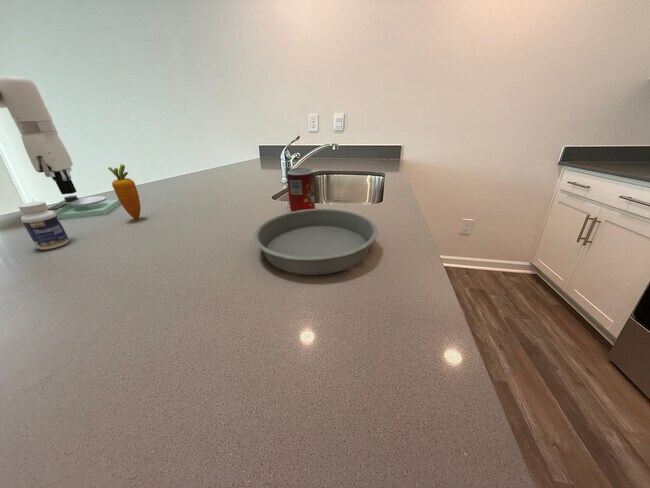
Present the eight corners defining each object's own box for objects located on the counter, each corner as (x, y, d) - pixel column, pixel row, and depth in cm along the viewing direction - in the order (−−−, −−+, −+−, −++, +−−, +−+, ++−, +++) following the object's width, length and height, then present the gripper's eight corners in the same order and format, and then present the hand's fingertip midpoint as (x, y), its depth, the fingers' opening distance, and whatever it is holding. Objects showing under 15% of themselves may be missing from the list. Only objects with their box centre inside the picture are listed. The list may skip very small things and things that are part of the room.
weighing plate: (65, 207, 74) (64, 205, 74) (80, 199, 81) (79, 198, 81) (99, 204, 76) (98, 202, 76) (111, 196, 84) (110, 195, 83)
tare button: (64, 203, 80) (61, 198, 79) (69, 200, 82) (67, 196, 81) (75, 202, 80) (73, 197, 80) (80, 199, 83) (78, 195, 82)
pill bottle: (42, 252, 55) (16, 209, 51) (34, 247, 58) (9, 205, 54) (73, 242, 59) (52, 202, 55) (65, 238, 62) (44, 198, 58)
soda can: (313, 217, 70) (310, 171, 64) (287, 217, 71) (283, 172, 65) (316, 209, 76) (314, 166, 71) (293, 209, 77) (289, 167, 71)
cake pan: (264, 228, 64) (261, 211, 62) (361, 222, 66) (362, 205, 64) (246, 286, 42) (241, 262, 40) (393, 275, 44) (395, 252, 42)
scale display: (47, 210, 72) (46, 209, 72) (57, 205, 76) (57, 204, 76) (57, 209, 73) (57, 208, 73) (67, 204, 77) (67, 203, 77)
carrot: (122, 221, 71) (99, 166, 64) (139, 215, 75) (120, 162, 68) (134, 223, 69) (112, 166, 63) (151, 217, 73) (132, 163, 67)
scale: (46, 220, 74) (40, 210, 72) (70, 207, 84) (66, 198, 83) (105, 214, 77) (101, 204, 76) (121, 202, 88) (117, 194, 87)
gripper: (39, 128, 77) (68, 188, 86) (-1, 130, 65) (38, 201, 73) (69, 127, 79) (95, 186, 88) (36, 129, 66) (70, 198, 75)
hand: (69, 193), depth 80 cm, fingers closed
